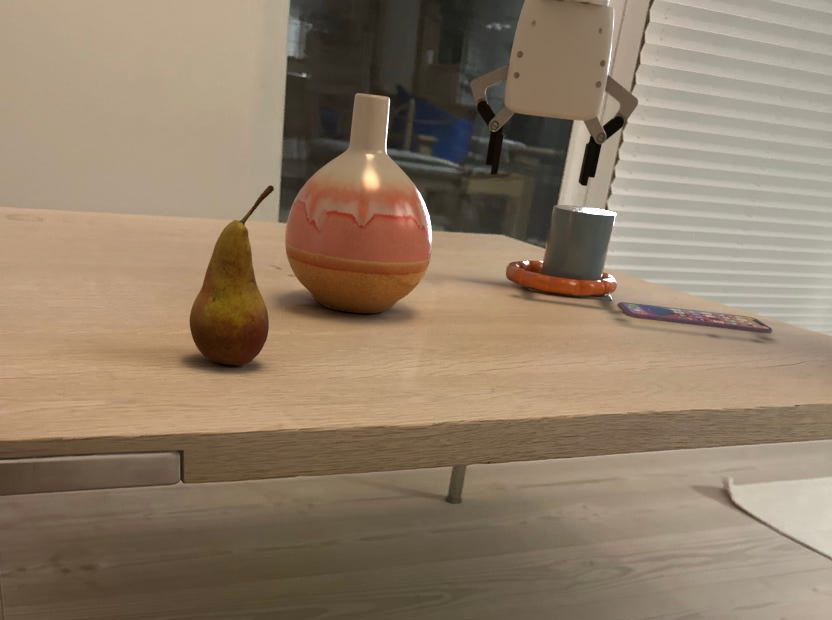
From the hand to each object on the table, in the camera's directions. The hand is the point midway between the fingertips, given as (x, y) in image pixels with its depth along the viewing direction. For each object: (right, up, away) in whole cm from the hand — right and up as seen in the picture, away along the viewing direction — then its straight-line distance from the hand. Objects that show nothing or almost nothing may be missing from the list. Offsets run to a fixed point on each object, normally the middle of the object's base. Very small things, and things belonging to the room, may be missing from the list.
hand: (538, 179), depth 100 cm
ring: (+4, -9, +5) cm, 11 cm away
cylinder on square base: (+4, -11, +6) cm, 13 cm away
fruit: (-29, -30, -32) cm, 52 cm away
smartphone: (+16, -17, -2) cm, 23 cm away
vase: (-20, -18, -11) cm, 29 cm away
